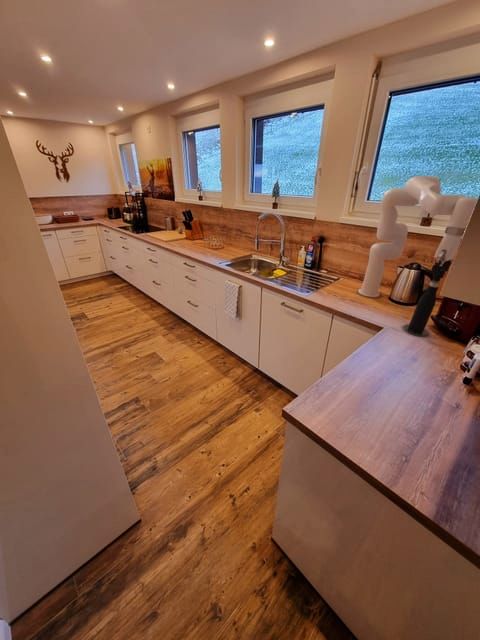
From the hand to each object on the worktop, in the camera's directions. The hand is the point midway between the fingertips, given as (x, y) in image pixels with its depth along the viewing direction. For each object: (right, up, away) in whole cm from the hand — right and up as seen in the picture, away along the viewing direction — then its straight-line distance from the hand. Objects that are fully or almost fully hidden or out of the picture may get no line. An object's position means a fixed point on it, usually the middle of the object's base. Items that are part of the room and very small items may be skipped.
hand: (438, 272), depth 113 cm
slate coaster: (-1, -26, +14) cm, 29 cm away
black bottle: (-1, -25, +14) cm, 29 cm away
